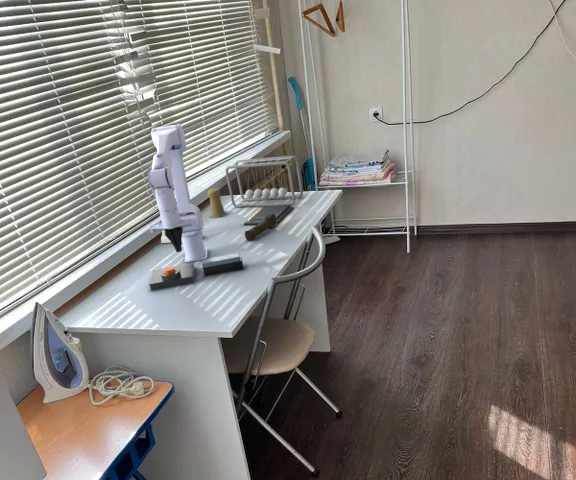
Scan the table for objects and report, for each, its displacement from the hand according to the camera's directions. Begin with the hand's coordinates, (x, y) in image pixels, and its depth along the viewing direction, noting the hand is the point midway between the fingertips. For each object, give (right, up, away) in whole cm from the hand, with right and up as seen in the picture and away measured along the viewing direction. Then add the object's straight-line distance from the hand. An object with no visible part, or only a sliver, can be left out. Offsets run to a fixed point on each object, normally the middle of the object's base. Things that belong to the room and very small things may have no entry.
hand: (179, 250), depth 194 cm
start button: (-3, -7, +3) cm, 8 cm away
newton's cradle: (+26, +36, +70) cm, 83 cm away
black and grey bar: (+14, -5, +7) cm, 16 cm away
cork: (+5, +30, +66) cm, 73 cm away
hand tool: (+25, +15, +36) cm, 47 cm away
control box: (-3, -8, +8) cm, 11 cm away
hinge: (-6, +14, +45) cm, 47 cm away
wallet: (+27, +25, +52) cm, 64 cm away
